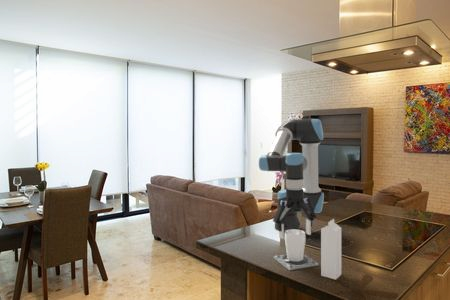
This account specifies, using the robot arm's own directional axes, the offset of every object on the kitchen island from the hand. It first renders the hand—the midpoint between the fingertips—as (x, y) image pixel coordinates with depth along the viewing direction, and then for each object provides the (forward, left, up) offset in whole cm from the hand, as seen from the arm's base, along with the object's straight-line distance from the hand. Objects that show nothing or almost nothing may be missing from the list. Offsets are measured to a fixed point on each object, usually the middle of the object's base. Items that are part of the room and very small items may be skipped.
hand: (295, 236), depth 142 cm
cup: (0, 0, -10) cm, 10 cm away
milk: (-6, +17, -11) cm, 21 cm away
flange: (0, 0, -11) cm, 11 cm away
